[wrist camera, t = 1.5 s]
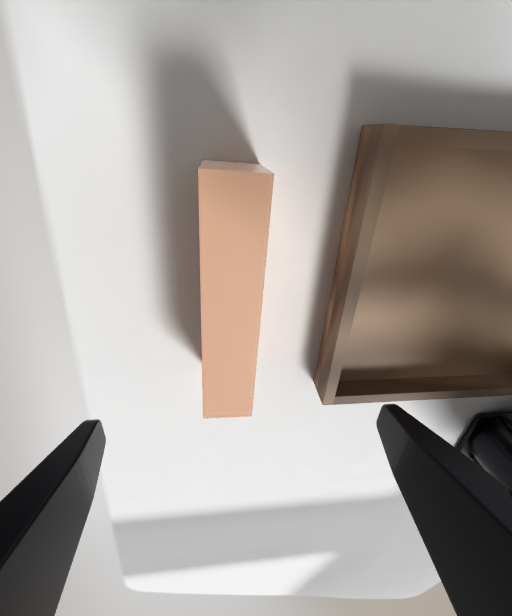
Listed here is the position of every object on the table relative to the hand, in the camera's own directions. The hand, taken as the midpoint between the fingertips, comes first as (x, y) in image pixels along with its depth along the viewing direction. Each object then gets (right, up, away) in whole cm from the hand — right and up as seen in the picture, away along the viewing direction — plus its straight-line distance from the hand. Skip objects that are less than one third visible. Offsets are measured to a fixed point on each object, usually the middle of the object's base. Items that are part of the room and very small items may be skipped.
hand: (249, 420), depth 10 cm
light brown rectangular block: (-2, +5, +10) cm, 11 cm away
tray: (+14, +5, +12) cm, 19 cm away
